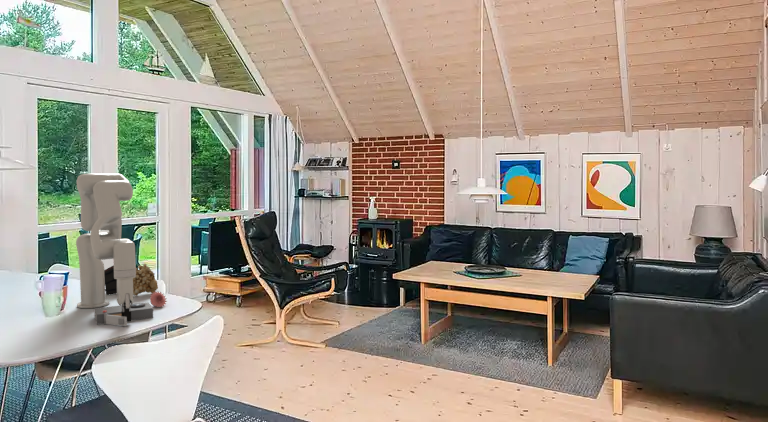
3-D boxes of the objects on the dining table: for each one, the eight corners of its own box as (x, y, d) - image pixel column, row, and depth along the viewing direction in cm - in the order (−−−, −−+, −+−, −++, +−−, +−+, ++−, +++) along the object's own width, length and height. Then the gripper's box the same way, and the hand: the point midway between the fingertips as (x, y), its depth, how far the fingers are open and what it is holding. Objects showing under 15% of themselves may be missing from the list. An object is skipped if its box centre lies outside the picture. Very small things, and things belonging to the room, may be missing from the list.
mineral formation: (126, 295, 267) (125, 264, 266) (154, 291, 277) (153, 261, 276) (134, 298, 262) (132, 266, 261) (162, 293, 271) (161, 262, 270)
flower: (146, 292, 246) (152, 286, 243) (163, 297, 251) (170, 291, 248) (144, 308, 241) (150, 302, 239) (162, 312, 246) (168, 307, 243)
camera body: (94, 317, 225) (94, 306, 225) (148, 311, 236) (148, 300, 235) (97, 324, 215) (96, 313, 215) (153, 317, 225) (152, 306, 225)
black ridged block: (138, 288, 277) (122, 261, 272) (111, 302, 270) (95, 276, 266) (136, 286, 280) (121, 261, 275) (110, 301, 273) (94, 275, 269)
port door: (106, 323, 216) (105, 313, 216) (127, 326, 212) (127, 316, 212) (102, 324, 215) (102, 314, 214) (124, 327, 211) (123, 317, 211)
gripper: (112, 271, 218) (113, 318, 219) (116, 277, 205) (117, 327, 206) (133, 269, 222) (134, 316, 223) (138, 275, 209) (140, 324, 210)
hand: (126, 321), depth 215 cm, fingers closed
